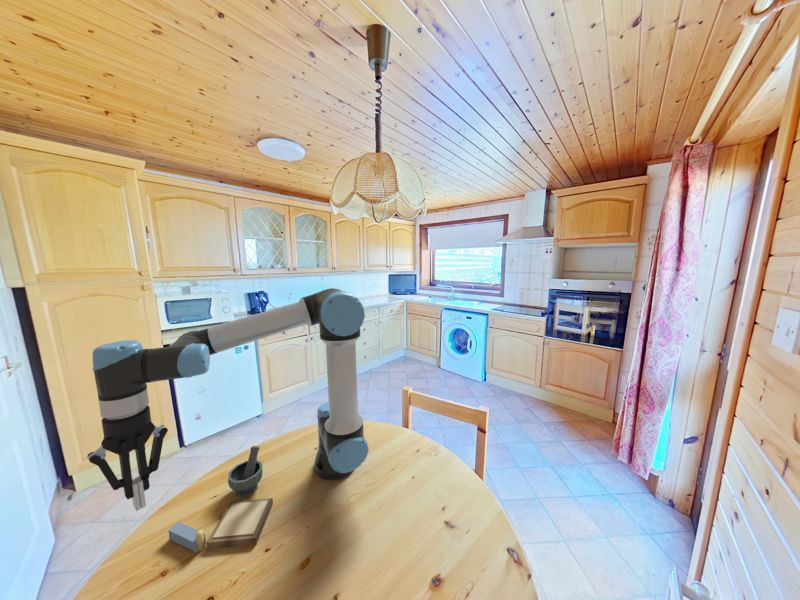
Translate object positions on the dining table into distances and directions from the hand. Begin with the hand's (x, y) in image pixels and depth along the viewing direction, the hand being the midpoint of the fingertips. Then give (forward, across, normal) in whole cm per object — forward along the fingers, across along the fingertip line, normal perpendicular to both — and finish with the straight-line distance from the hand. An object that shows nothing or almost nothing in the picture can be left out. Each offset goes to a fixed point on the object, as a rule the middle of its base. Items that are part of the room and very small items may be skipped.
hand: (139, 505), depth 63 cm
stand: (+16, -18, +8) cm, 26 cm away
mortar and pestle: (+17, -25, -3) cm, 31 cm away
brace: (+16, -8, +1) cm, 18 cm away
